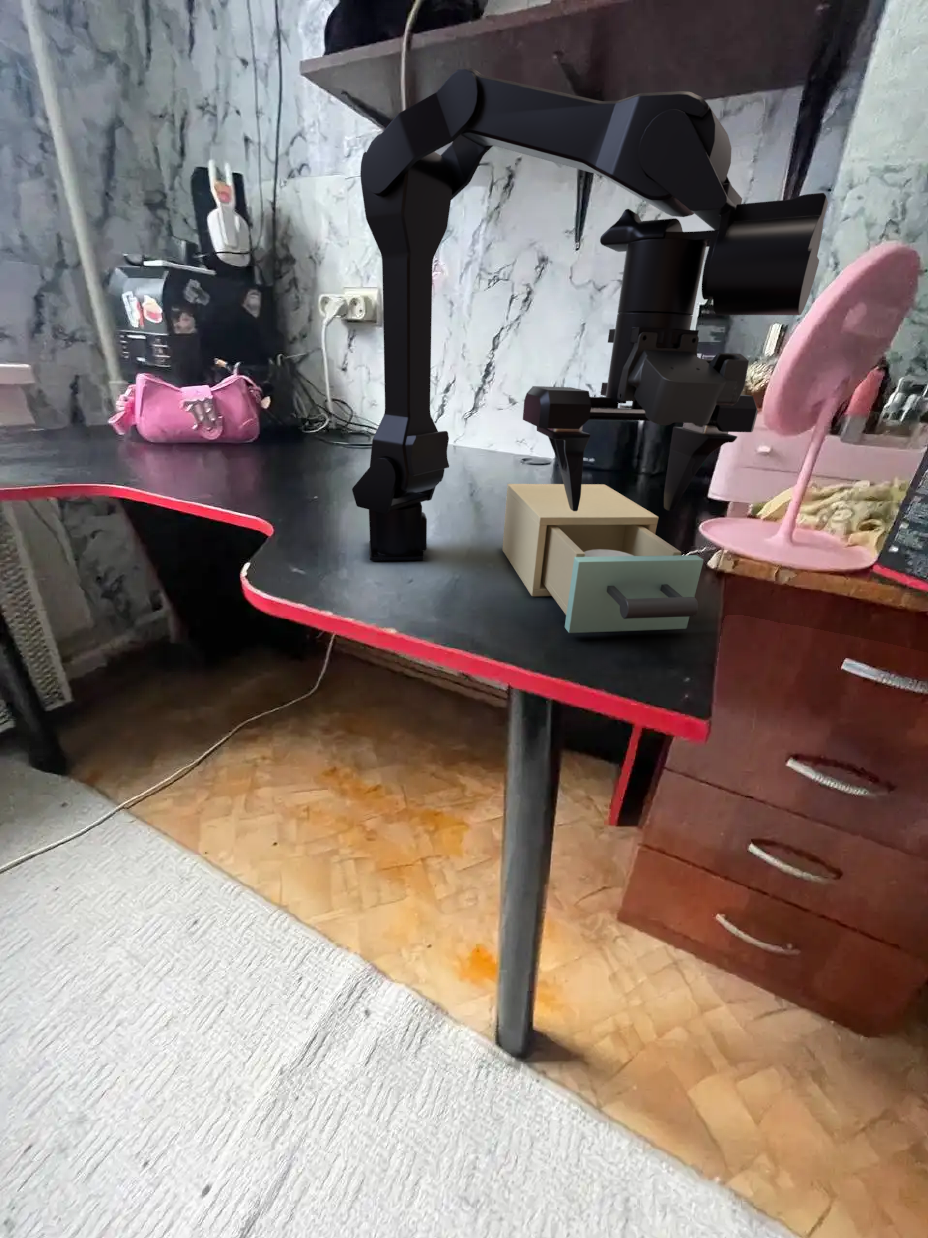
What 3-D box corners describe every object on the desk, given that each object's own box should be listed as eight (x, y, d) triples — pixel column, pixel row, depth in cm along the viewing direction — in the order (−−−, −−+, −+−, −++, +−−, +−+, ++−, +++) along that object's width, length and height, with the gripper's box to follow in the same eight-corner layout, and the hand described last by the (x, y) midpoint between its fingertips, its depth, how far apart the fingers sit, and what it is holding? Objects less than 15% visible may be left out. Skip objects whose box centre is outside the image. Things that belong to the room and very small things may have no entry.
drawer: (715, 655, 46) (736, 580, 43) (587, 661, 44) (600, 584, 41) (626, 574, 62) (637, 516, 59) (529, 576, 61) (535, 516, 58)
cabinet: (643, 593, 60) (658, 517, 56) (531, 596, 58) (540, 517, 54) (594, 549, 73) (604, 484, 69) (502, 550, 71) (507, 483, 67)
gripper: (575, 301, 34) (549, 539, 41) (835, 316, 37) (770, 535, 44) (529, 311, 44) (514, 501, 51) (738, 322, 47) (697, 501, 54)
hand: (621, 509), depth 50 cm, fingers open, 9 cm apart
